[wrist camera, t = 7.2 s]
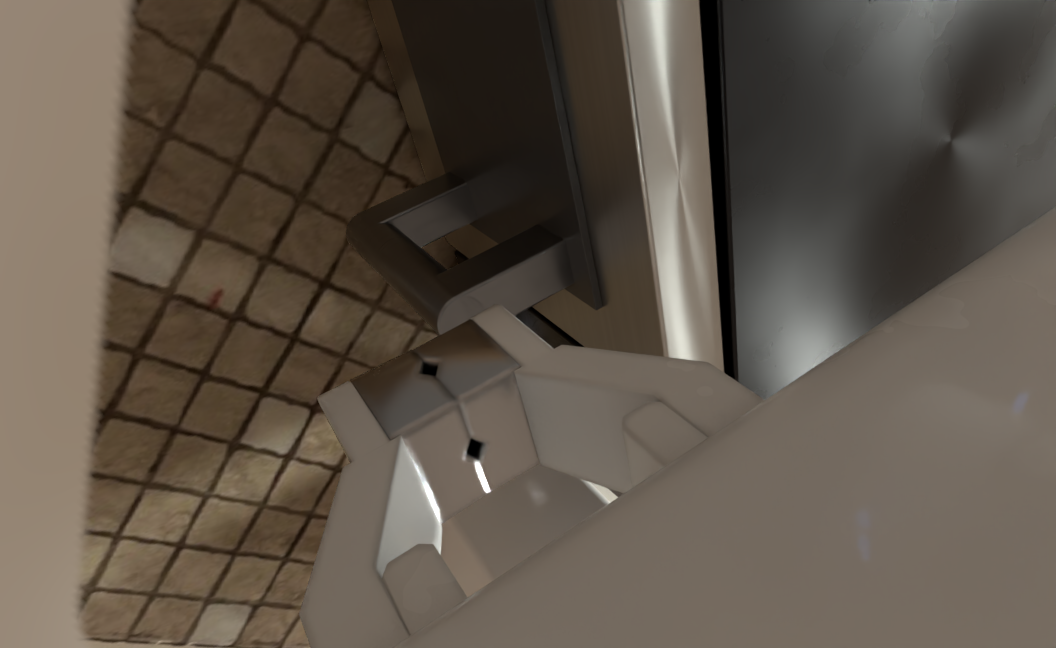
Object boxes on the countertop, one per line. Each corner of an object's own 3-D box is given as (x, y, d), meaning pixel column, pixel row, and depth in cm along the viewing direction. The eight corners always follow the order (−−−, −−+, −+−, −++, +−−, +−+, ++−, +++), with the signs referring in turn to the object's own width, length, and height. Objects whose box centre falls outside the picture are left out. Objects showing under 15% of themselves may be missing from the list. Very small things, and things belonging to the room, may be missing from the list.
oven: (464, 356, 27) (673, 567, 18) (300, -125, 18) (565, -183, 9) (770, 189, 32) (1050, 288, 23) (768, -249, 23) (1232, -365, 14)
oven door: (352, 288, 23) (540, 505, 14) (183, -91, 17) (338, -116, 8) (485, 223, 25) (727, 381, 16) (379, -146, 18) (687, -218, 10)
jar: (519, 551, 34) (690, 773, 25) (358, 580, 29) (499, 869, 20) (573, 387, 31) (790, 573, 22) (405, 390, 26) (594, 629, 17)
